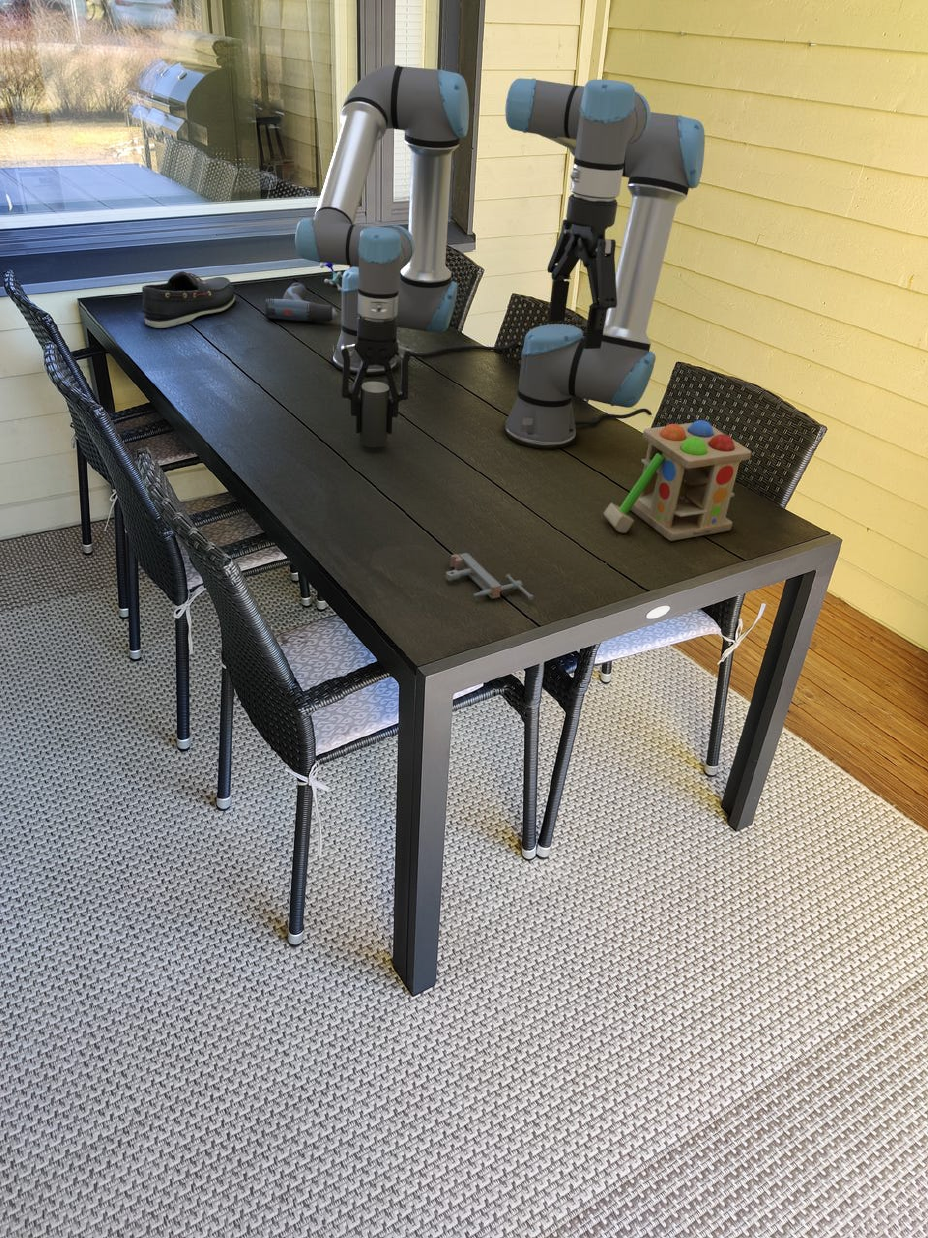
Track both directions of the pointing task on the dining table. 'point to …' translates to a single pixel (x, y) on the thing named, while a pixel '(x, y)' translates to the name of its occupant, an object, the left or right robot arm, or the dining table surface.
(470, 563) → the clamp
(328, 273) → the dining table surface
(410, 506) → the dining table surface
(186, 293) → the boat shoe
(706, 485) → the pounding bench toy
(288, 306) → the power drill
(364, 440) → the tin
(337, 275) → the molecular model
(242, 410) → the dining table surface
